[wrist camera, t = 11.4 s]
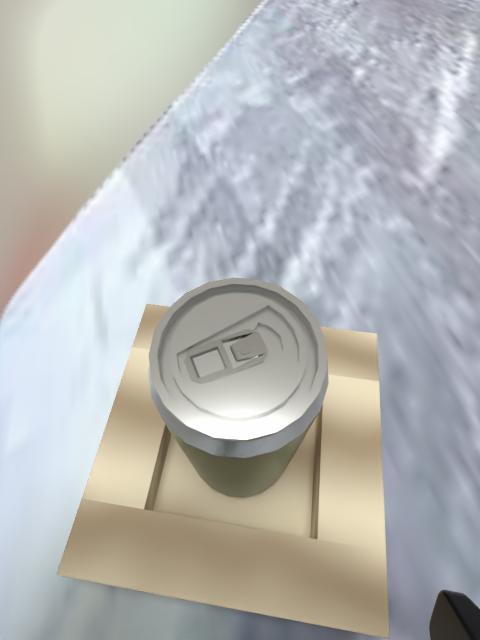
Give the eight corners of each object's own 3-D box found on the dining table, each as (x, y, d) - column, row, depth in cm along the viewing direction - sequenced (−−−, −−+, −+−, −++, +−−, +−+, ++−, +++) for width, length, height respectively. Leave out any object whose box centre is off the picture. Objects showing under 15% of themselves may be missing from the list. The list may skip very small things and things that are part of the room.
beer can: (211, 517, 19) (173, 487, 8) (179, 419, 21) (120, 305, 11) (306, 473, 20) (375, 399, 9) (264, 385, 22) (283, 251, 12)
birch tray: (364, 621, 18) (389, 638, 15) (85, 569, 19) (56, 574, 16) (360, 358, 25) (377, 333, 22) (157, 331, 26) (146, 303, 23)
